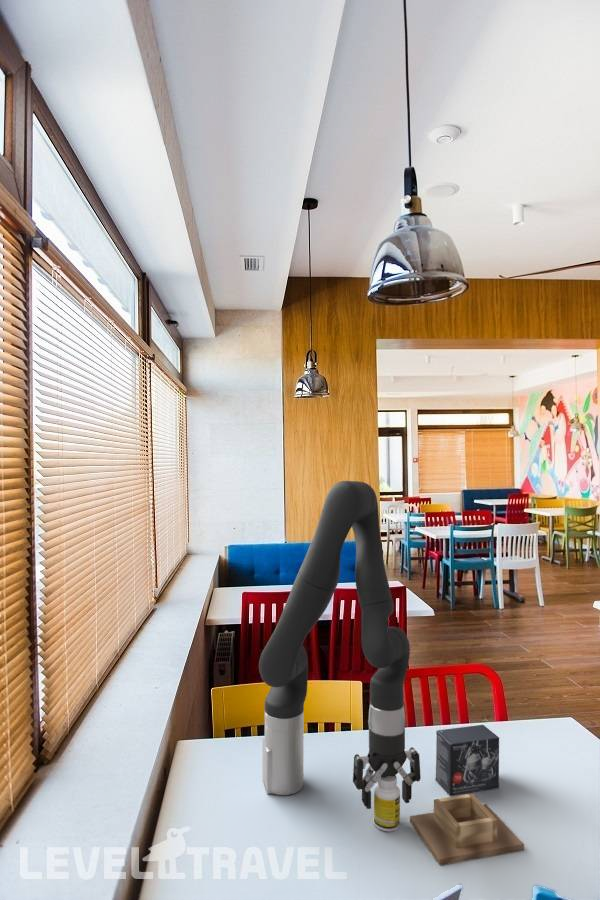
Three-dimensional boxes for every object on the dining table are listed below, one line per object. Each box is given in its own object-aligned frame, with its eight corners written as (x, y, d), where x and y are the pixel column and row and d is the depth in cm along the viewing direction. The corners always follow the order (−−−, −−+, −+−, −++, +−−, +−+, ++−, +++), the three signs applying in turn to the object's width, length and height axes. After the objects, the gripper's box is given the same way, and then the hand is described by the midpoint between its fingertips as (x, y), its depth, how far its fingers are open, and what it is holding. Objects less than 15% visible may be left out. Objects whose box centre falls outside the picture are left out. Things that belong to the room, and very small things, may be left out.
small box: (450, 797, 125) (449, 744, 125) (434, 781, 131) (434, 730, 132) (500, 788, 128) (500, 736, 129) (483, 772, 135) (482, 723, 135)
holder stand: (439, 865, 104) (439, 837, 104) (409, 821, 116) (409, 796, 116) (523, 850, 108) (523, 822, 108) (486, 809, 120) (486, 785, 121)
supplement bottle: (399, 834, 112) (399, 785, 113) (372, 830, 113) (372, 782, 114) (400, 817, 118) (400, 771, 118) (374, 814, 119) (374, 768, 119)
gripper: (360, 738, 111) (360, 820, 110) (425, 730, 114) (426, 809, 114) (348, 721, 118) (348, 798, 118) (410, 714, 121) (410, 789, 121)
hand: (386, 803), depth 116 cm, fingers open, 8 cm apart
